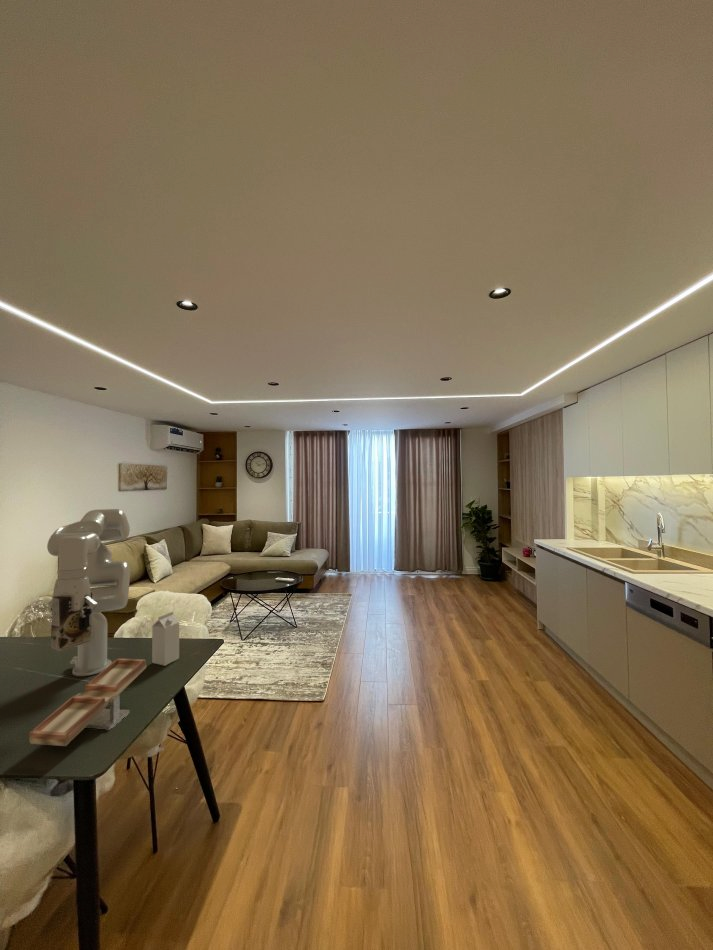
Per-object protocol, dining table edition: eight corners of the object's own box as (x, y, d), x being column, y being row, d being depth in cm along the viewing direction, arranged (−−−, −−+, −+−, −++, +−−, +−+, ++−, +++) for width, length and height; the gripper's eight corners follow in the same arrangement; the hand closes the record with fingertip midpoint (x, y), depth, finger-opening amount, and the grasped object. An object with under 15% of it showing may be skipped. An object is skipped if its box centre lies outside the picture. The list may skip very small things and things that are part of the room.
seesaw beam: (29, 746, 100) (27, 733, 99) (118, 668, 131) (117, 658, 131) (67, 749, 98) (64, 736, 98) (147, 669, 130) (146, 659, 129)
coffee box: (59, 652, 115) (60, 599, 116) (50, 647, 119) (50, 596, 119) (92, 641, 123) (93, 592, 124) (82, 637, 126) (83, 589, 127)
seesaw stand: (60, 726, 111) (60, 702, 112) (83, 711, 119) (83, 688, 120) (109, 730, 110) (109, 705, 110) (129, 713, 117) (129, 690, 118)
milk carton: (151, 663, 152) (152, 616, 152) (166, 655, 158) (167, 610, 159) (164, 666, 149) (165, 618, 149) (179, 658, 155) (179, 612, 156)
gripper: (38, 576, 119) (37, 631, 119) (87, 577, 117) (86, 633, 116) (60, 570, 127) (59, 623, 126) (106, 571, 124) (105, 625, 124)
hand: (72, 627), depth 121 cm, fingers closed on coffee box, 8 cm apart
